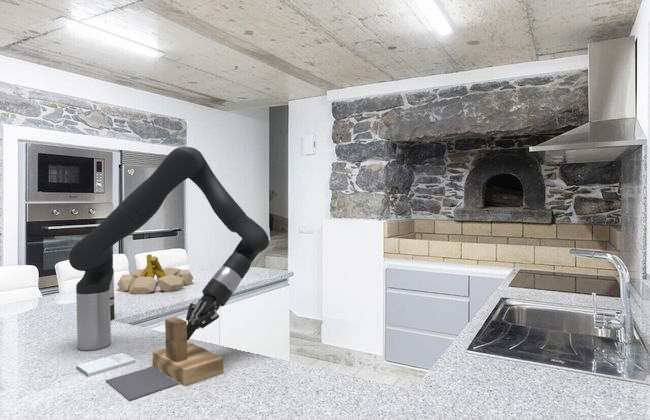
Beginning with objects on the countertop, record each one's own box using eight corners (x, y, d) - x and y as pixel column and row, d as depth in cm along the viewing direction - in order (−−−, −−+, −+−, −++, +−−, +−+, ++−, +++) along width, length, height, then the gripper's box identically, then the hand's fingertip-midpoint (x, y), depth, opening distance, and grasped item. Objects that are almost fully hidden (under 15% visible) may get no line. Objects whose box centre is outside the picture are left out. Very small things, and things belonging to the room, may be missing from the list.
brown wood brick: (165, 356, 114) (165, 319, 114) (176, 353, 116) (175, 316, 116) (176, 362, 110) (175, 324, 109) (187, 359, 112) (186, 321, 112)
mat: (105, 381, 108) (105, 380, 108) (152, 367, 117) (152, 366, 117) (129, 401, 98) (129, 399, 97) (178, 384, 106) (178, 383, 106)
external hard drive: (76, 370, 116) (122, 357, 125) (88, 379, 111) (135, 364, 120) (75, 364, 116) (122, 351, 125) (87, 373, 111) (135, 358, 120)
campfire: (140, 280, 238) (140, 250, 237) (200, 280, 237) (200, 250, 236) (105, 295, 203) (105, 259, 202) (175, 295, 202) (175, 259, 201)
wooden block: (152, 366, 118) (152, 351, 117) (189, 355, 126) (189, 341, 125) (184, 386, 105) (184, 370, 105) (223, 372, 113) (223, 357, 113)
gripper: (201, 274, 125) (162, 325, 117) (227, 281, 116) (186, 336, 108) (217, 289, 129) (180, 339, 121) (243, 297, 120) (205, 351, 112)
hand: (183, 338), depth 114 cm, fingers closed
